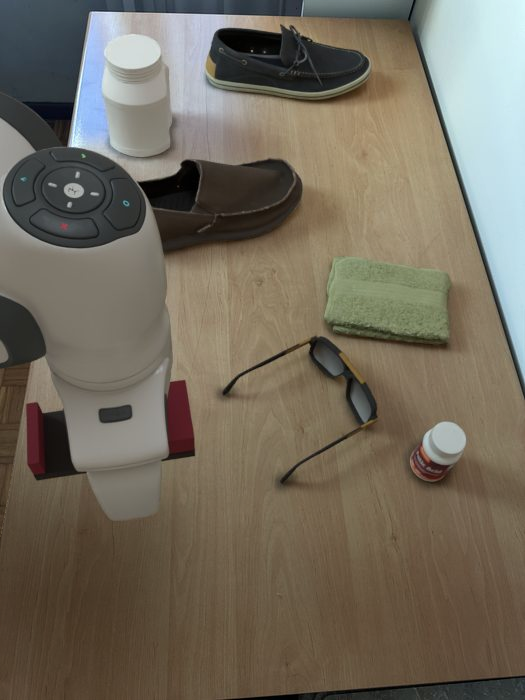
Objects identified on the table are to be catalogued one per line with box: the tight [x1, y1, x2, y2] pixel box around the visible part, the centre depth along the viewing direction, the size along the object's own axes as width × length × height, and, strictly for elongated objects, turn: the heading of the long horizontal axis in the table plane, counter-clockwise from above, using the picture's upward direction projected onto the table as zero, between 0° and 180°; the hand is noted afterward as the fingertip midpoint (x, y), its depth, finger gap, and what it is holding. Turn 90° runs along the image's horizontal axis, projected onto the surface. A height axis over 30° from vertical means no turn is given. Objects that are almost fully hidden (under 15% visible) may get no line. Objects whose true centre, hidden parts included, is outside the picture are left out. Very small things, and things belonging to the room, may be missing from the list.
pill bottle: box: [409, 421, 467, 483], centre depth 79 cm, size 5×5×8 cm
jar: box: [101, 33, 173, 158], centre depth 103 cm, size 12×10×15 cm
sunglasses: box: [221, 334, 381, 484], centre depth 83 cm, size 14×15×5 cm
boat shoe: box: [204, 23, 373, 101], centre depth 115 cm, size 11×29×9 cm, turn 89°
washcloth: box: [323, 255, 452, 346], centre depth 93 cm, size 13×18×3 cm
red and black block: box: [25, 379, 196, 482], centre depth 59 cm, size 14×6×4 cm, turn 101°
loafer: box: [136, 157, 304, 253], centre depth 96 cm, size 11×30×11 cm, turn 116°
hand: (129, 428), depth 60 cm, fingers closed on red and black block, 6 cm apart
